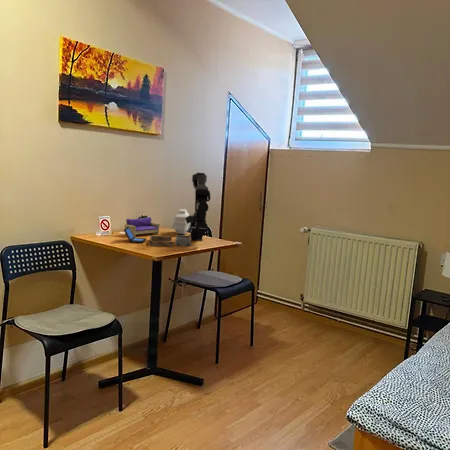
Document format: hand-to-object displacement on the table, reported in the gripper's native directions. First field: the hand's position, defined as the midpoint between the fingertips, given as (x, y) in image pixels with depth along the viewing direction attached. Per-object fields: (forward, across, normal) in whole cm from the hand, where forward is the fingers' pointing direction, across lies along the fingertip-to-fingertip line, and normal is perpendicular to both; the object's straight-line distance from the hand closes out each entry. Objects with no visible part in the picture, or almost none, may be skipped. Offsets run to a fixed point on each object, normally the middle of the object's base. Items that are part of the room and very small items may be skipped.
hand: (199, 238), depth 255 cm
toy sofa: (+4, -25, -32) cm, 41 cm away
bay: (+4, 0, -21) cm, 21 cm away
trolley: (+4, 0, -9) cm, 10 cm away
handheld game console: (+4, -3, -35) cm, 36 cm away
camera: (+4, -37, -8) cm, 38 cm away
